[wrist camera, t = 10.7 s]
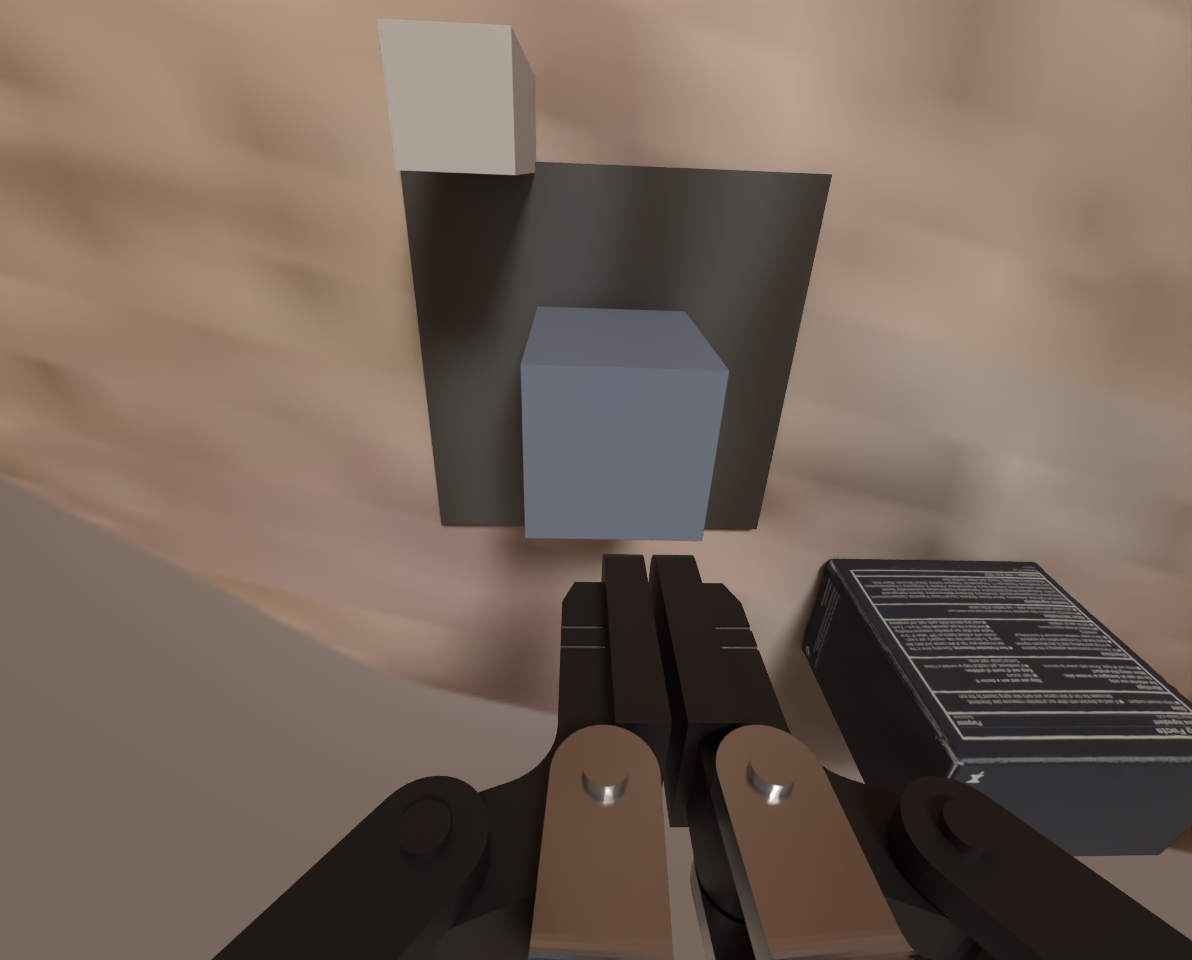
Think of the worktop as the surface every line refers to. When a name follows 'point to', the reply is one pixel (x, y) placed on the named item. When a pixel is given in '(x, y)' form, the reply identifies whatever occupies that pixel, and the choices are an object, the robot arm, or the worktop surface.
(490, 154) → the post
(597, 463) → the blue-grey block
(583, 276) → the dark grey square tray
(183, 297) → the worktop surface
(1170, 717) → the small box
